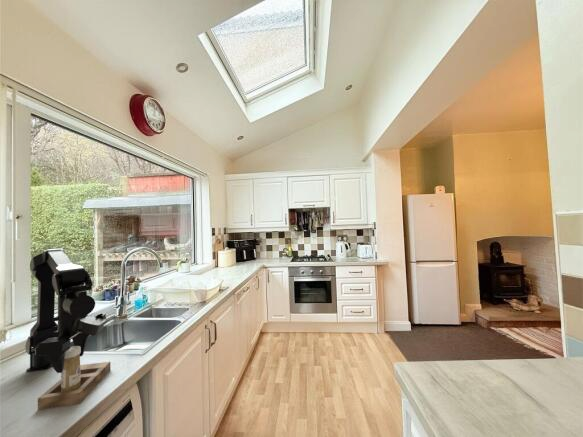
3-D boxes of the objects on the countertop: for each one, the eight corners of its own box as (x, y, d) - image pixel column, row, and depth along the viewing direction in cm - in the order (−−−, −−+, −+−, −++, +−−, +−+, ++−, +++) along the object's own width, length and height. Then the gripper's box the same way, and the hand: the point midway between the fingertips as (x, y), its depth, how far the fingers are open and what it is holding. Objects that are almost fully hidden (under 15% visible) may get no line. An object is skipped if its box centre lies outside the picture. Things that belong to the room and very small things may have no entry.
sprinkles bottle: (79, 396, 74) (78, 349, 75) (58, 402, 72) (58, 354, 72) (82, 388, 78) (82, 343, 79) (62, 393, 76) (62, 347, 76)
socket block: (37, 409, 69) (37, 398, 69) (77, 374, 86) (77, 365, 86) (79, 403, 71) (79, 392, 71) (110, 370, 88) (110, 361, 88)
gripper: (82, 319, 68) (82, 378, 68) (116, 299, 87) (116, 346, 86) (33, 323, 66) (33, 384, 66) (78, 302, 84) (78, 350, 84)
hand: (70, 363), depth 75 cm, fingers open, 9 cm apart
